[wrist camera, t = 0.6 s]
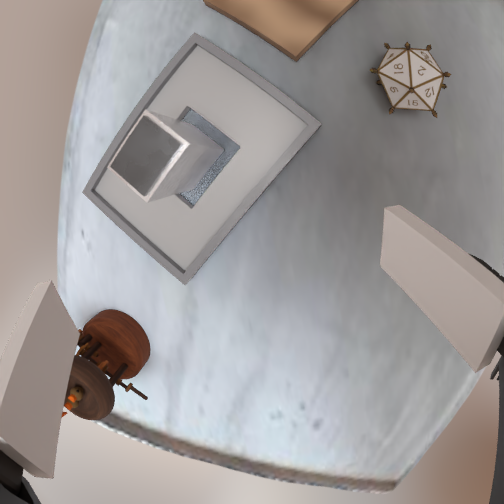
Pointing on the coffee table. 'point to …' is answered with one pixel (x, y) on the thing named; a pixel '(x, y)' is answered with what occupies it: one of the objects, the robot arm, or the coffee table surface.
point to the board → (284, 20)
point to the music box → (105, 363)
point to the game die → (410, 78)
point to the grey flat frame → (233, 174)
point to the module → (163, 156)
